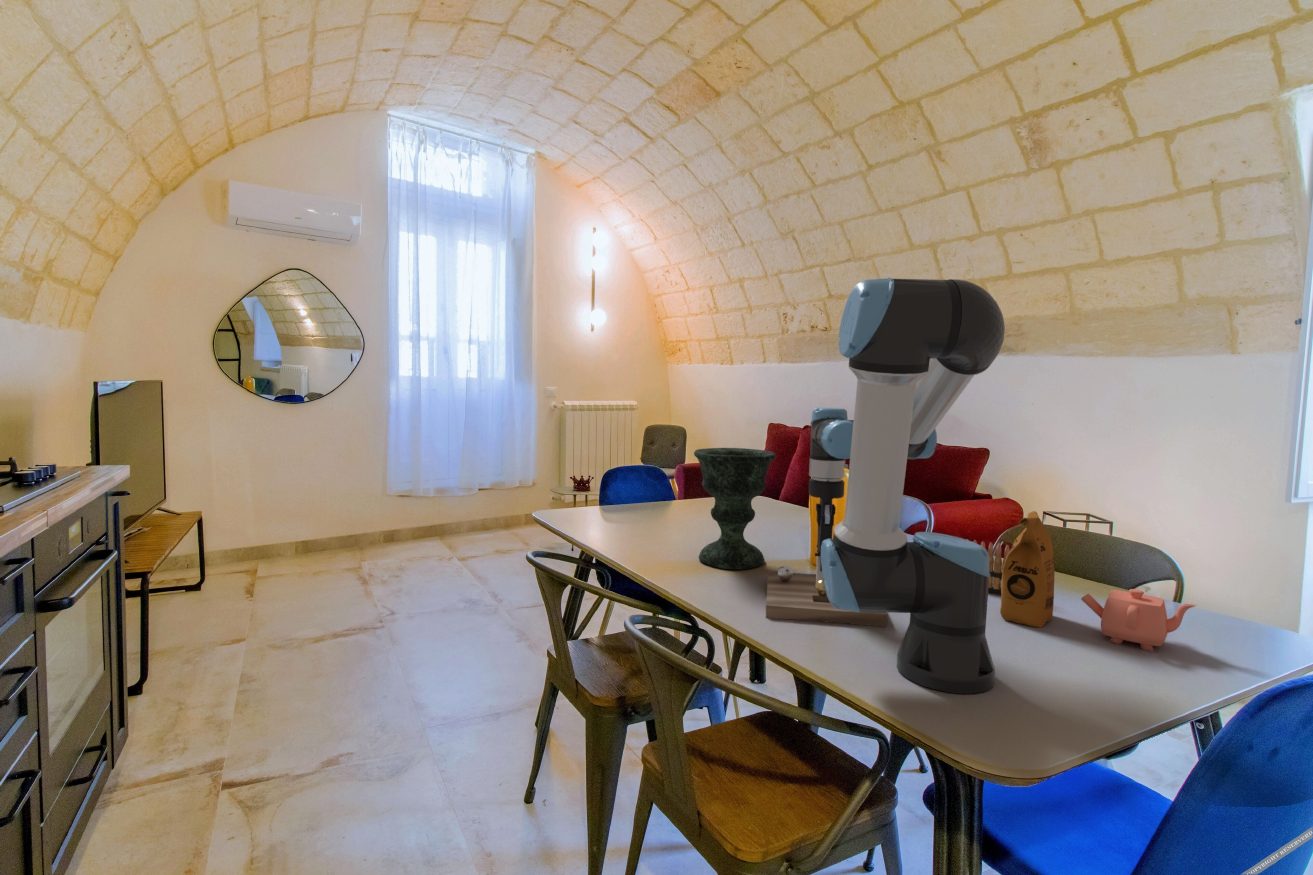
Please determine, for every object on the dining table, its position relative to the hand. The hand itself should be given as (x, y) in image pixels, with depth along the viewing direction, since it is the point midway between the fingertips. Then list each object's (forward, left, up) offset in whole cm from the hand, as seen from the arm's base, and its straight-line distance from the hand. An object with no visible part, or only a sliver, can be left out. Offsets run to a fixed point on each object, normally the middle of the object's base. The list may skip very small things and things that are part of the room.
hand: (822, 584), depth 148 cm
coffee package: (+1, -42, -5) cm, 42 cm away
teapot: (-9, -58, -5) cm, 59 cm away
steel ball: (+7, +8, 0) cm, 10 cm away
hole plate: (+1, 0, -4) cm, 4 cm away
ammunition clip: (+19, -39, -5) cm, 43 cm away
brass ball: (-2, 0, 0) cm, 2 cm away
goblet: (+31, +22, -5) cm, 38 cm away
